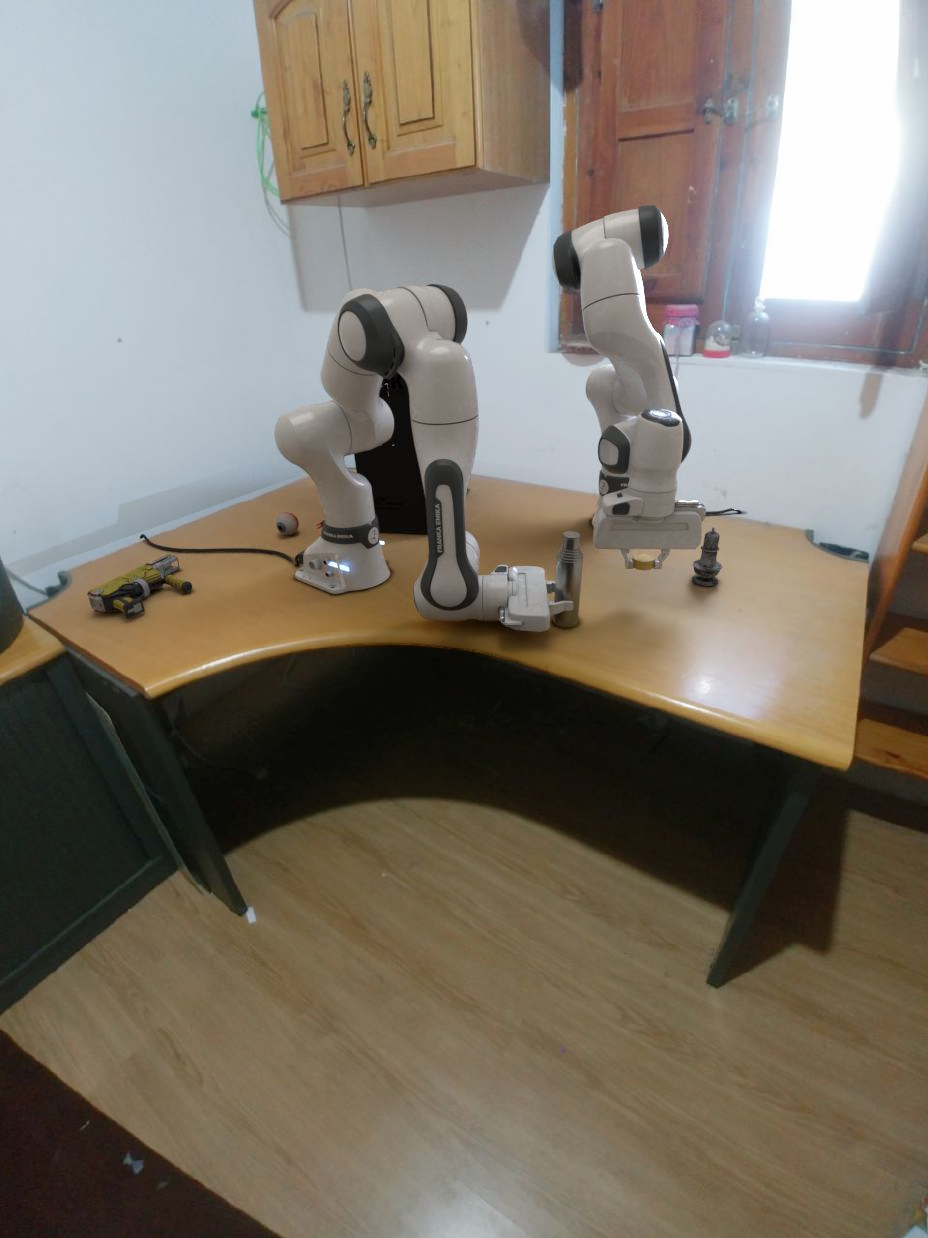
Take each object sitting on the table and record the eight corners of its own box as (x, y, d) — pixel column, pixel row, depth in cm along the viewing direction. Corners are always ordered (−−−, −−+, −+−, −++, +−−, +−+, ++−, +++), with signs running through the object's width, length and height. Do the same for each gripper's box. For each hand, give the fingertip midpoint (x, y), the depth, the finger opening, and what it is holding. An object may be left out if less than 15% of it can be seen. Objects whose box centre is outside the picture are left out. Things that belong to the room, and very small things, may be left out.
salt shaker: (721, 586, 126) (731, 533, 120) (692, 585, 127) (700, 532, 121) (717, 574, 131) (726, 522, 125) (688, 573, 132) (696, 521, 126)
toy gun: (216, 562, 143) (165, 551, 147) (137, 606, 123) (80, 592, 127) (219, 580, 145) (169, 569, 149) (142, 626, 125) (86, 611, 129)
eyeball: (273, 537, 164) (268, 516, 161) (287, 528, 169) (282, 508, 166) (291, 539, 161) (286, 518, 158) (305, 530, 166) (301, 510, 163)
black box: (436, 534, 159) (422, 349, 137) (364, 531, 164) (339, 351, 141) (468, 489, 191) (460, 332, 168) (407, 487, 195) (391, 335, 173)
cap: (638, 571, 118) (639, 563, 117) (627, 563, 122) (628, 554, 121) (658, 568, 119) (659, 560, 118) (646, 560, 123) (647, 552, 122)
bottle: (557, 613, 120) (562, 527, 111) (580, 617, 118) (588, 531, 109) (549, 624, 116) (554, 537, 107) (574, 629, 115) (581, 540, 105)
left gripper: (497, 610, 105) (577, 608, 104) (499, 561, 123) (567, 559, 122) (498, 640, 108) (576, 639, 107) (499, 588, 126) (566, 587, 125)
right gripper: (703, 495, 115) (692, 561, 122) (594, 496, 117) (590, 561, 124) (712, 506, 110) (700, 575, 117) (598, 506, 112) (592, 574, 119)
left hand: (571, 596), depth 115 cm, fingers closed on bottle, 5 cm apart
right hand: (642, 568), depth 120 cm, fingers closed on cap, 4 cm apart
